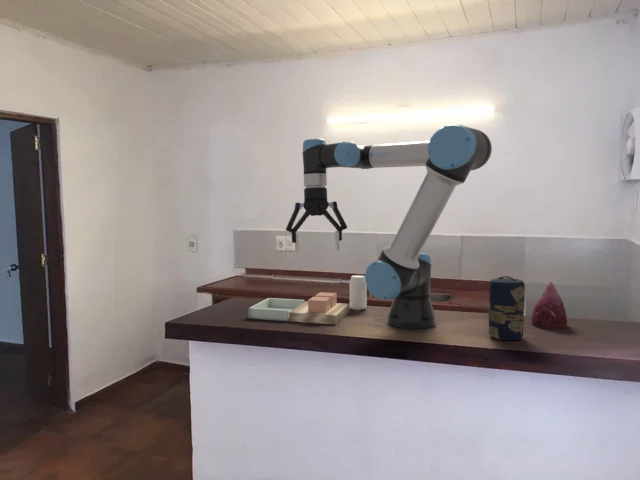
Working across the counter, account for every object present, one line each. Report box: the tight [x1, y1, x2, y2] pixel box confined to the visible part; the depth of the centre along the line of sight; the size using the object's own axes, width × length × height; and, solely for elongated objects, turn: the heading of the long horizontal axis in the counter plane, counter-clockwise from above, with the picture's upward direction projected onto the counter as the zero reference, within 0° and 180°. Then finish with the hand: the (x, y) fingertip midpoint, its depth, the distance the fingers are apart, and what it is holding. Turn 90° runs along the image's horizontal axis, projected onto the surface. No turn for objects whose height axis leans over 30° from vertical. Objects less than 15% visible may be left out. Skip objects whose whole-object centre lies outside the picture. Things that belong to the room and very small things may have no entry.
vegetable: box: [531, 281, 568, 330], centre depth 165 cm, size 10×10×15 cm
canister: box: [488, 275, 526, 341], centre depth 149 cm, size 10×10×18 cm
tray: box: [247, 297, 305, 322], centre depth 181 cm, size 14×18×4 cm
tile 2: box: [314, 291, 338, 308], centre depth 180 cm, size 6×6×4 cm
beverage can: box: [349, 274, 368, 311], centre depth 188 cm, size 6×6×12 cm
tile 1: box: [307, 296, 331, 313], centre depth 172 cm, size 6×6×4 cm
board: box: [288, 300, 350, 325], centre depth 177 cm, size 16×18×3 cm
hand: (317, 251), depth 171 cm, fingers open, 13 cm apart
